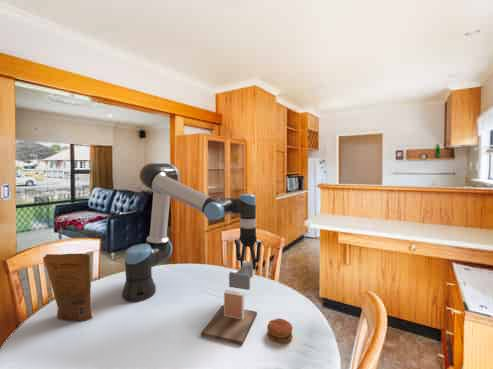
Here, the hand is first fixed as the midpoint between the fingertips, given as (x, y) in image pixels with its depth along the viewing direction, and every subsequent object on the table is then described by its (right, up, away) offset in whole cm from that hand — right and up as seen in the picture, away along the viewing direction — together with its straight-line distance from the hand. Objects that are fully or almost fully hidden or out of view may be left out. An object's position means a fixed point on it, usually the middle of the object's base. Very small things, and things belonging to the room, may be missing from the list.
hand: (248, 275), depth 119 cm
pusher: (-1, -1, -4) cm, 5 cm away
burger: (+11, -13, -26) cm, 31 cm away
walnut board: (-7, -12, -20) cm, 25 cm away
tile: (-6, -11, -17) cm, 21 cm away
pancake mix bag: (-73, -12, -16) cm, 76 cm away
